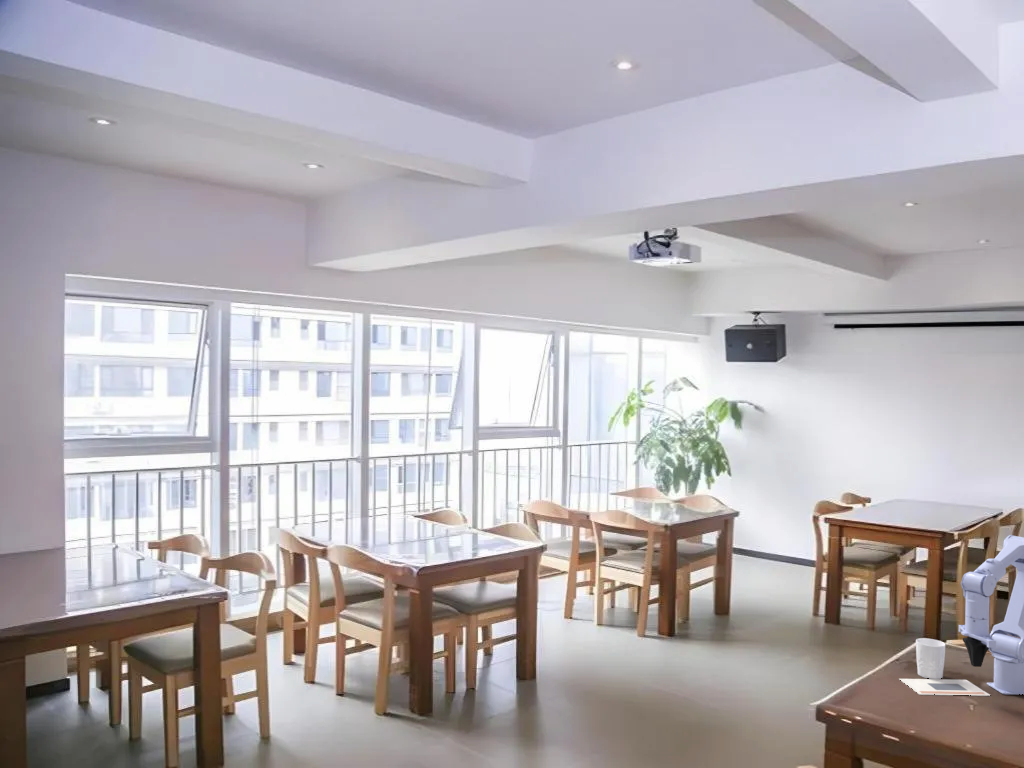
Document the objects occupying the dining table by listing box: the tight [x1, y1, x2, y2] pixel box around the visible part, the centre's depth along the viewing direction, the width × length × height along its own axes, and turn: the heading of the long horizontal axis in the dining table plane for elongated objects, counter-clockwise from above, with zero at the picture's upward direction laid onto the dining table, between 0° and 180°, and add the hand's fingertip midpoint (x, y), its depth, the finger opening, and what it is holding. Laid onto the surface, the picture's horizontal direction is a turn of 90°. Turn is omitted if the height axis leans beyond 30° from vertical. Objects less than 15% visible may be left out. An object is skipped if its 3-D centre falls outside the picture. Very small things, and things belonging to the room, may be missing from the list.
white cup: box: [915, 637, 946, 679], centre depth 241 cm, size 8×8×10 cm
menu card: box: [898, 678, 991, 697], centre depth 231 cm, size 20×12×1 cm, turn 90°
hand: (976, 665), depth 222 cm, fingers closed
